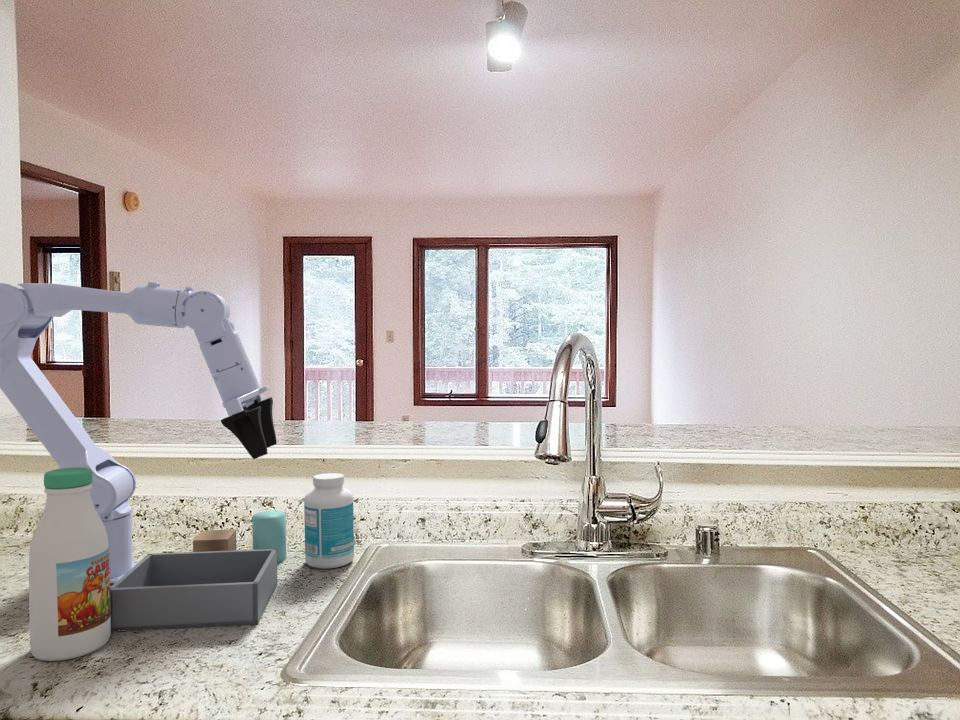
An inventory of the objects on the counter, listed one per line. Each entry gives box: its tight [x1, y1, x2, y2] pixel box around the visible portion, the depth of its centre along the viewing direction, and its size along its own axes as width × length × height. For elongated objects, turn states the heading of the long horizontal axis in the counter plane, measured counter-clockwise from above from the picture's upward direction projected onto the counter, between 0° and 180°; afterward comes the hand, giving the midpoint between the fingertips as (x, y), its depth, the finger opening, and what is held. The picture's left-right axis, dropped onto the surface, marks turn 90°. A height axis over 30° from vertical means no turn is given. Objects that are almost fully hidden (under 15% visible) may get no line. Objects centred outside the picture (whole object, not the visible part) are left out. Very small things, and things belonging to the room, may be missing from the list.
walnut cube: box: [192, 529, 237, 552], centre depth 100 cm, size 5×5×5 cm
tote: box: [110, 549, 278, 632], centre depth 85 cm, size 17×13×5 cm
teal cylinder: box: [251, 510, 287, 564], centre depth 103 cm, size 5×5×7 cm
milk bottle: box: [28, 467, 112, 662], centre depth 74 cm, size 8×8×20 cm
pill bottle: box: [303, 472, 355, 570], centre depth 102 cm, size 8×7×14 cm
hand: (265, 451), depth 100 cm, fingers open, 7 cm apart
